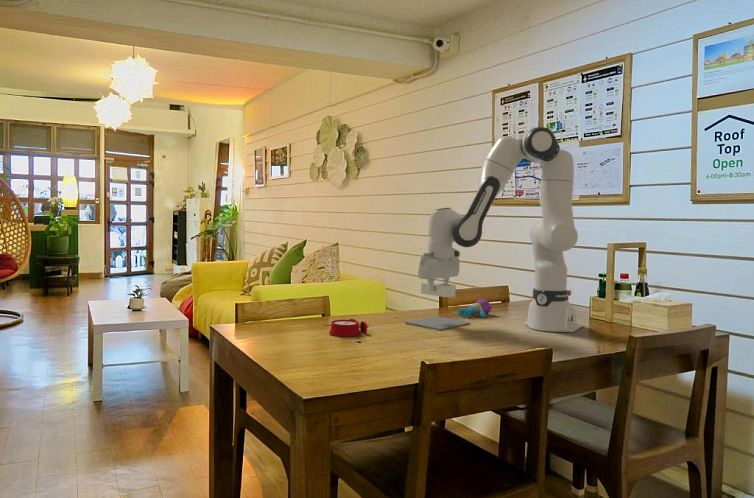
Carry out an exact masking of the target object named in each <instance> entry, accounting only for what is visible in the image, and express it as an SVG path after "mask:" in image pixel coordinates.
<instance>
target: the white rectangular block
mask: <svg viewBox="0 0 754 498" xmlns="http://www.w3.org/2000/svg"><path fill="white" fill-rule="evenodd" d="M420 284H421V285H420V294H423V295H429V296H435V297H441V298H442V297H443V298H454V297H456V288H457V285H456V284H443V282H441V283H440V282H436V281H435V282H434V285H435V286H436V291H430V285H429V283H428V281H424V282H421V283H420Z"/></svg>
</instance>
